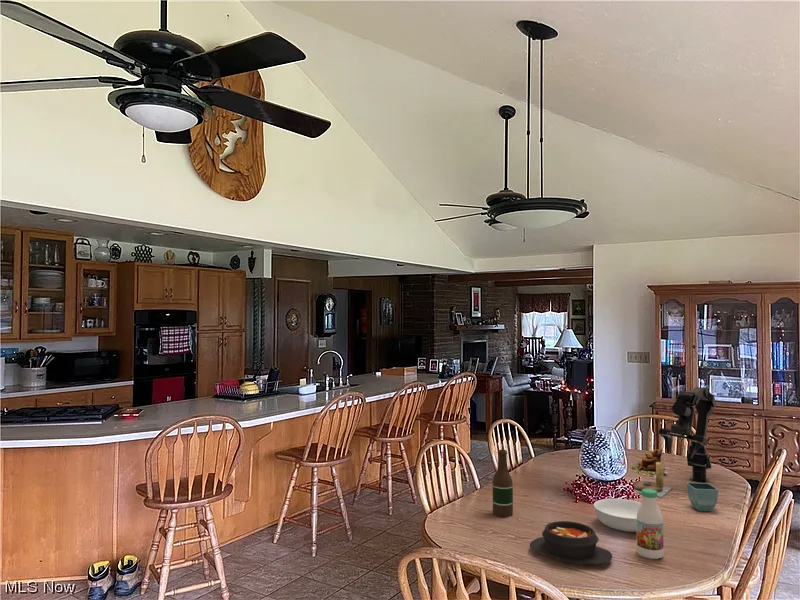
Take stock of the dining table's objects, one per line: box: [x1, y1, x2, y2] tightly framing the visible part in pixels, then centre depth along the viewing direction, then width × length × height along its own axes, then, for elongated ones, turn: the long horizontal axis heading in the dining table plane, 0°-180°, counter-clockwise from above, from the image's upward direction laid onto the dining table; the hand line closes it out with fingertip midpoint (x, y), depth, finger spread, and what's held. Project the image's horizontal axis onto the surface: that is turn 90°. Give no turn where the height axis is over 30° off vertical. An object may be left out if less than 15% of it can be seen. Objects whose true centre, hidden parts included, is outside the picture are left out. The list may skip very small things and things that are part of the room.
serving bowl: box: [593, 498, 642, 533], centre depth 205 cm, size 21×21×7 cm
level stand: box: [635, 485, 673, 499], centre depth 248 cm, size 16×16×1 cm
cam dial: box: [632, 462, 664, 492], centre depth 248 cm, size 12×12×11 cm
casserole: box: [529, 520, 613, 565], centre depth 181 cm, size 25×19×8 cm
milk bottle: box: [636, 489, 664, 560], centre depth 182 cm, size 8×8×20 cm
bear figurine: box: [631, 448, 670, 478], centre depth 276 cm, size 14×15×12 cm
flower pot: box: [686, 482, 719, 512], centre depth 224 cm, size 9×9×9 cm
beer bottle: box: [492, 449, 514, 518], centre depth 219 cm, size 8×8×24 cm
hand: (679, 455), depth 247 cm, fingers open, 9 cm apart
